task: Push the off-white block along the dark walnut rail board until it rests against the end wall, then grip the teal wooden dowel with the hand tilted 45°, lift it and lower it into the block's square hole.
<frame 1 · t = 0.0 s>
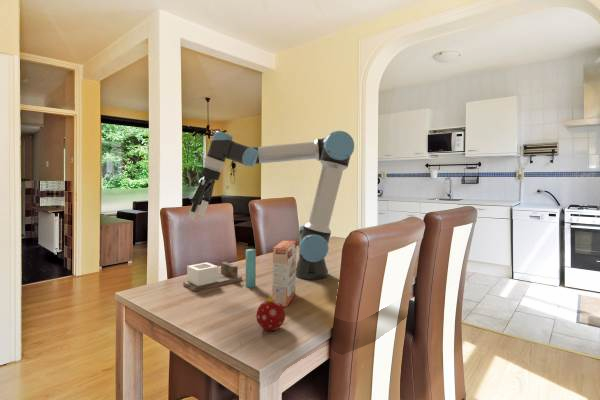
hand: (196, 217, 142), 28 cm above the table, tool tilted 20°, fingers open, 13 cm apart
rail board: (213, 282, 145), on the table
cracker box: (284, 300, 126), on the table
dowel: (250, 286, 141), on the table
christmas ornament: (270, 329, 102), on the table
block: (202, 273, 141), point 5 cm above the table, slide at 0.0 cm
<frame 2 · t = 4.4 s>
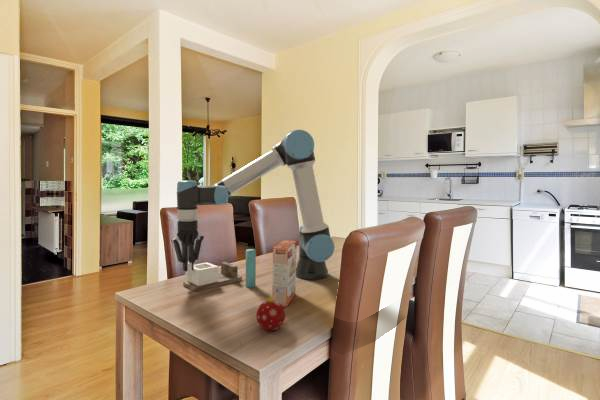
hand: (188, 278, 136), 4 cm above the table, tool pointing down, fingers closed
block: (202, 273, 141), point 5 cm above the table, slide at 0.1 cm, touching gripper
everything else where it was.
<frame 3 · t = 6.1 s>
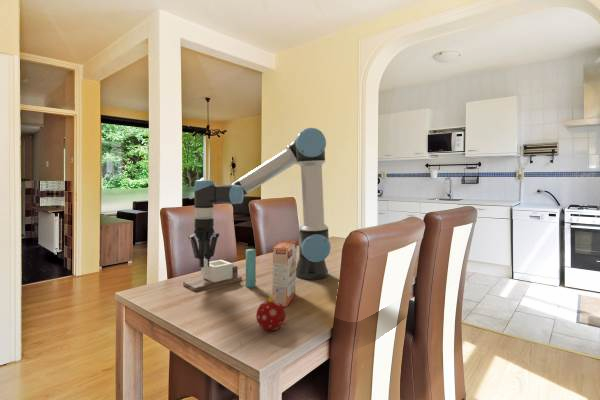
hand: (204, 274, 141), 4 cm above the table, tool pointing down, fingers closed
block: (217, 270, 146), point 5 cm above the table, slide at 7.0 cm, touching gripper
everything else where it was.
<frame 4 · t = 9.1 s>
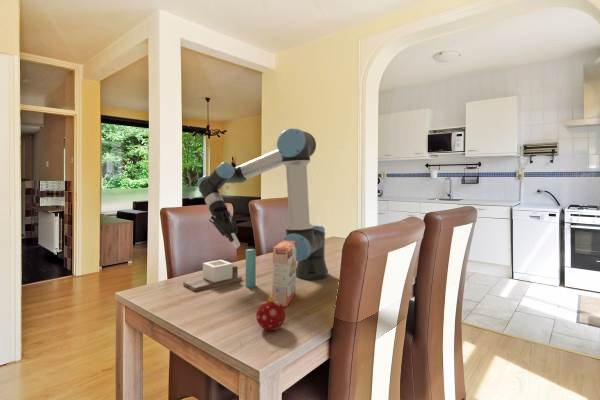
hand: (237, 246, 146), 15 cm above the table, tool tilted 45°, fingers closed
block: (217, 270, 146), point 5 cm above the table, slide at 7.0 cm
everything else where it was.
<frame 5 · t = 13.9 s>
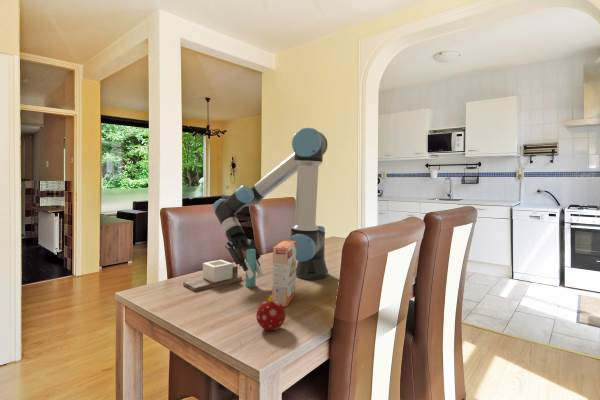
hand: (256, 275, 138), 5 cm above the table, tool tilted 45°, fingers closed on dowel, 4 cm apart
dowel: (250, 286, 141), on the table, touching gripper
everything else where it was.
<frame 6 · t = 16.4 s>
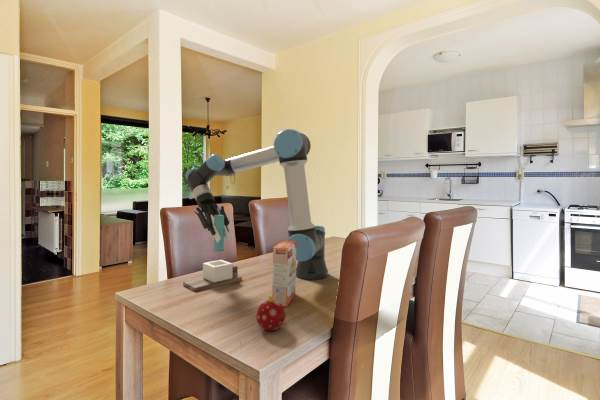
hand: (223, 239, 142), 19 cm above the table, tool tilted 45°, fingers closed on dowel, 4 cm apart
dowel: (218, 250, 145), point 14 cm above the table, touching gripper
everything else where it was.
when the fingers open (10 cm above the table, at t = 18.7 s): dowel drops 1 cm, resting on block.
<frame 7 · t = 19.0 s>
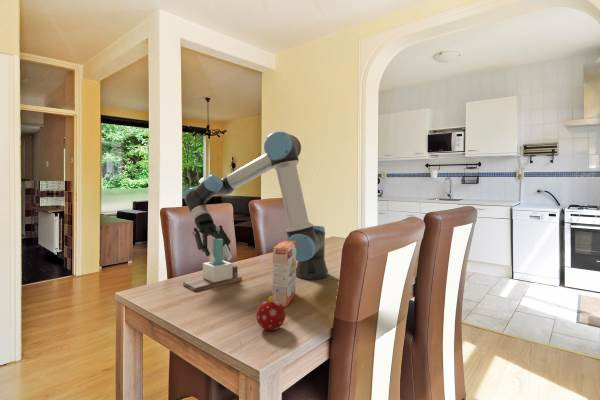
hand: (221, 260, 143), 10 cm above the table, tool tilted 45°, fingers open, 7 cm apart
dowel: (217, 274, 146), point 3 cm above the table, touching block
block: (217, 270, 146), point 5 cm above the table, slide at 7.0 cm, touching dowel
everything else where it was.
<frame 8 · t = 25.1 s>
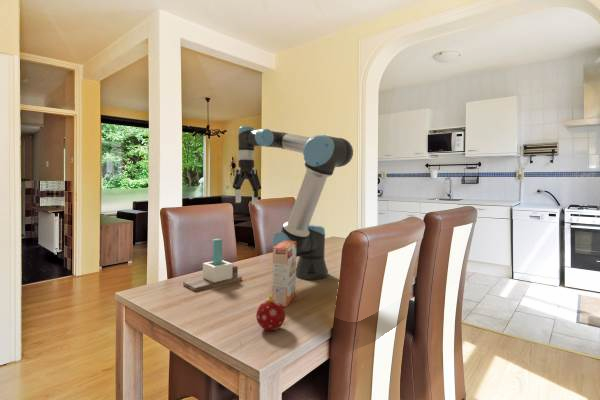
hand: (246, 203, 166), 32 cm above the table, tool pointing down, fingers open, 13 cm apart
nothing on the table moved.
at the end: block slide at 7.0 cm; dowel 0.0 cm off-centre on the block, point 3.2 cm above the block's base; dowel tilted 0° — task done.
